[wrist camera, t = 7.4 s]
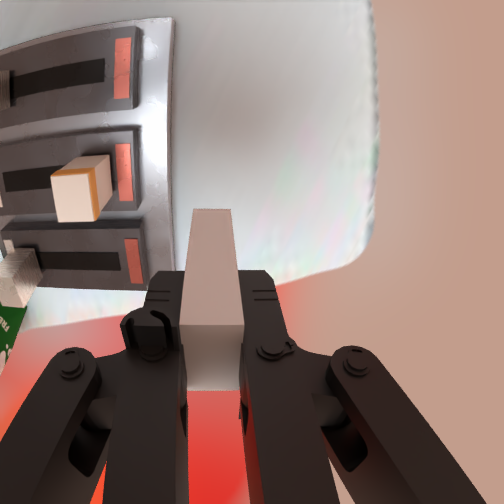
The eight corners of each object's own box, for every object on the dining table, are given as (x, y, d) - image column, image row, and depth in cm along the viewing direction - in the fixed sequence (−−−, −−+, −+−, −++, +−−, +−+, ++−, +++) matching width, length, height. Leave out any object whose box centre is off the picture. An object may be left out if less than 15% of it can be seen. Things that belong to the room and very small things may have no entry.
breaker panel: (-14, 59, 15) (-75, 69, 8) (175, 21, 17) (155, -3, 10) (19, 269, 26) (-15, 321, 19) (175, 272, 28) (167, 337, 21)
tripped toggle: (75, 156, 18) (49, 176, 14) (109, 153, 18) (88, 173, 15) (80, 196, 19) (57, 223, 16) (113, 195, 20) (94, 222, 16)
